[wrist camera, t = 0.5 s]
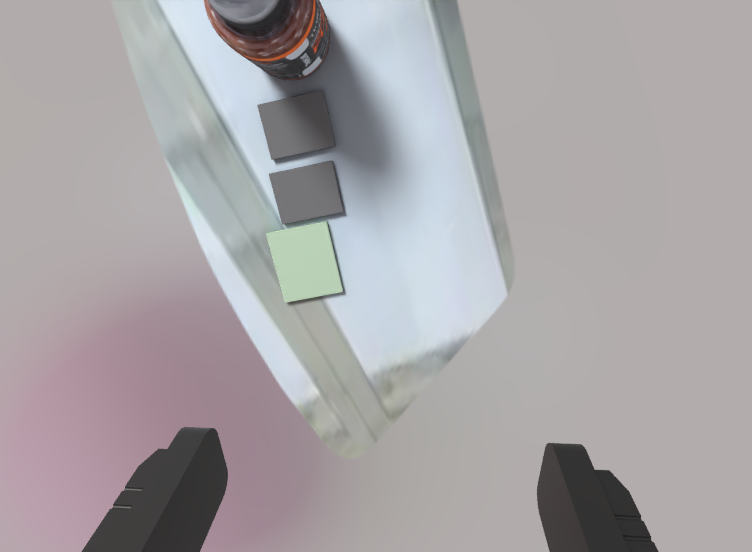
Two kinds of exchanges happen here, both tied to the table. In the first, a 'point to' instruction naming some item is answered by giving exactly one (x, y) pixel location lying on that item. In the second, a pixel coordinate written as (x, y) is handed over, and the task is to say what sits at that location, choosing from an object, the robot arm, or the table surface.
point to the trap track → (303, 196)
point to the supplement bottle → (274, 33)
